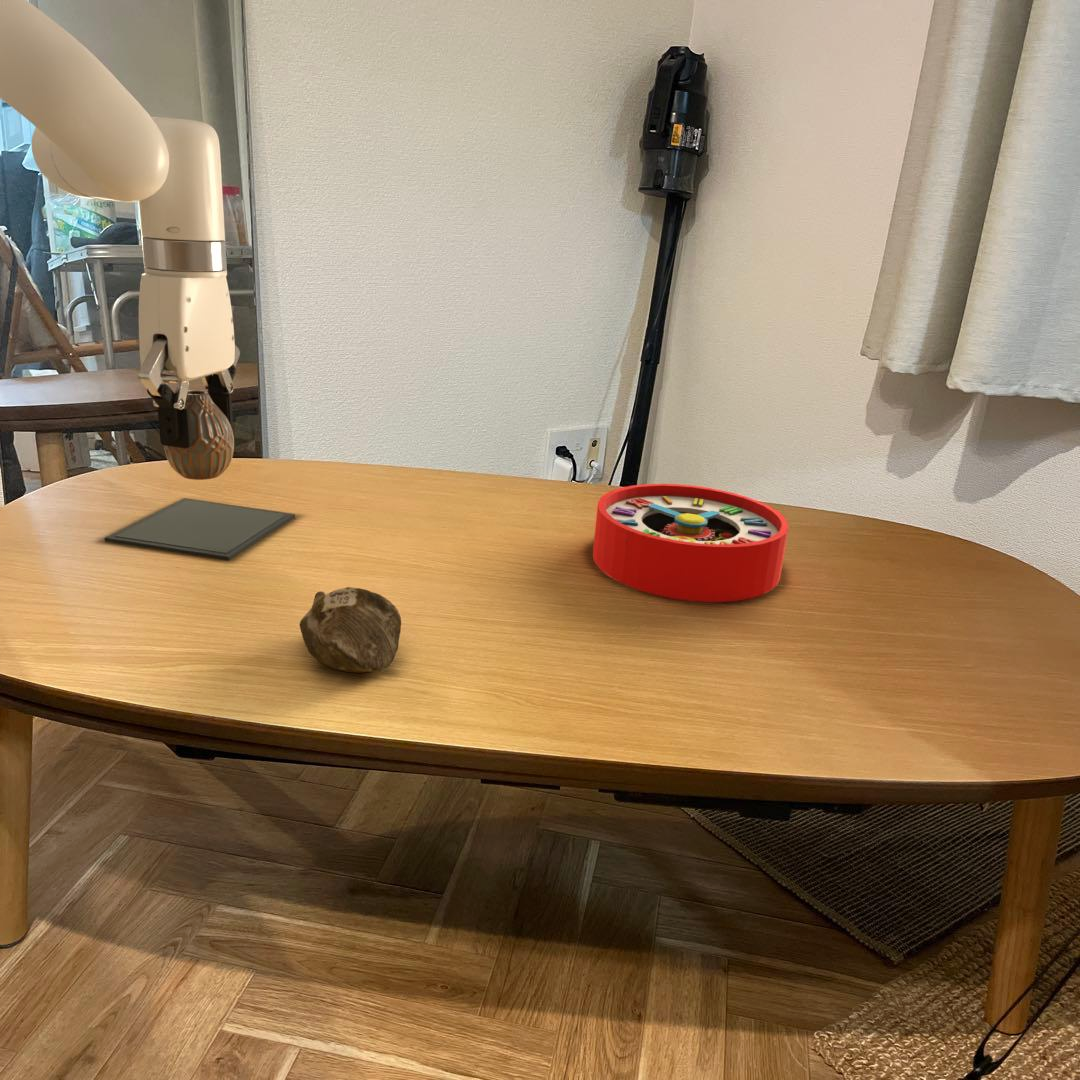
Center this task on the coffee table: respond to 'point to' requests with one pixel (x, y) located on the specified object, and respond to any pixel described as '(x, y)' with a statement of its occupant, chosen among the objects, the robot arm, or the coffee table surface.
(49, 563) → the coffee table surface
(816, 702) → the coffee table surface
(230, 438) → the vase
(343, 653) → the fossilized seashell
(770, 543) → the toy clock
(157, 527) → the mat
